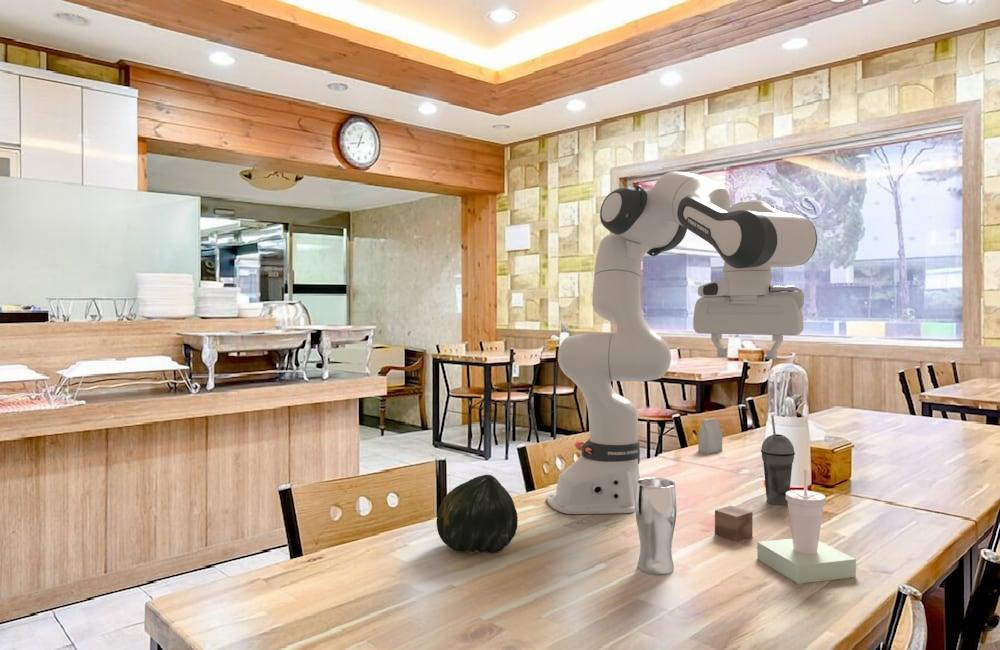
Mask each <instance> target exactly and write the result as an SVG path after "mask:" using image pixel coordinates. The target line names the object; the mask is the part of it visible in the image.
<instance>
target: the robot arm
mask: <svg viewBox="0 0 1000 650" xmlns="http://www.w3.org/2000/svg"><path fill="white" fill-rule="evenodd" d="M602 201H603V202H602V205H601V207H600V213H599V218H600V222H601V225H602V227H604V228H605V229H606V230H607V231H609V232H610V233H609V234H607V235H606V236H604V237H603V238H602V240H601V241H600V243H599V245H598V246H599V247H598V250H597V253H596V259H595V265H594V273H593V288H592V301H591V302H592V307H593V311H594V312H595V313H596V315H598V316H599V317H600V318H603V320H606V321H608V322H610V323H613V324H614V325H615V326H616V332H613V333H609V332H608V333H600V332H599V333H598V332H597V333H594V332H591V333H587V332H586V333H579V334H574V335H571V336H567V337H565V339H563V341H562V342H561V343H560V345H559V348H558V351H557V361H558V366H559V369H560V370H561V371H562V372H563V374H564V375H565V376H566V377H568V378H569V379H570V380H571V381H572V382H573V383H574V384H575V385H576V387H577V388H578V389H579V390H580V392H581V394H582V396H583V398H584V400H585V403H586V408H587V415H588V428H589V431H588V433H589V437H588V440H586V441H585V442H583V441H582V440H576V441H575V443H574V447H575V449H577V450H579V451H581V455H580V457H579V458H578V459H577V460H575V461H574V462H573V463H572V464H570V465H569V466H568V467H566V468H564V469H563V470H562V471H561V472H560V474H559V475H558V479H557V483H556V484H557V485H556V488H555V489H556V490H555V492H550V493H548V494H547V496H546V502H547V504H548V505H549V506H550V507H551V508H552V509H554V510H555V511H557V512H560V513H563V514H567V515H586V514H587V515H590V514H600V515H601V514H633V513H634V512H635V496H636V484H637V483H636V482H637V480H639V479H641V478H640V468H639V467H640V466H639V464H640V462H641V458H640V457H641V449H640V448H641V447H640V446H641V445H640V441H639V439H638V438H639V437H638V435H639V434H638V433H639V431H638V430H639V429H638V428H639V427H638V424H639V423H638V422H639V421H638V409H637V407H636V405H635V404H634V403H633V402H632V401H631V400H630V399H628V398H626V397H625V396H623V395H621V394H619V393H617V392H616V391H615V390H614V388H613V386H612V382H614V381H615V382H634V383H635V382H640V383H641V382H647V381H655V380H658V379H662V378H663V377H664V376H665V375H666V374H667V372H668V371H669V369H670V366H671V361H672V354H671V350H670V347H669V345H668V342H666V340H664V338H663V337H661V336H660V335H659V334H657V333H656V332H655V331H654V330H653V329H652V328H651V327H650V325H649V324H648V322H647V320H646V319H645V317H644V314H643V310H642V301H641V281H642V269H641V268H642V261H643V258H644V256H645V255H646V254H647V255H649V256H651V257H655V256H656V257H657V256H658V255H660V254H661V253H663V252H668V251H671V250H672V249H674V248H676V247H677V246H679V244H681V243H682V241H683V240H684V238H685V236H686V234H687V230H688V231H690V232H691V233H693V234H694V235H696V236H697V237H699V238H701V239H703V241H706V242H707V243H708V244H710V245H711V246H712V247H713V248H714V249H715V250H716V252H717V253H718V255H719V257H720V258H721V259H722V260H723V261H724V263H723V266H722V275H721V276H722V277H721V278H718V279H716V280H713V281H710V282H707V283H705V284H702V285H699V286H698V288H697V295H698V296H699V298H698V299H697V300H696V302H695V303H694V304H695V305H694V309H693V321H692V326H693V327H692V328H693V330H694V331H695V332H696V334H701V335H703V334H705V335H706V334H711V336H710V337H711V338H710V339H711V341H712V343H713V345H714V346H715V348H716V356H717V357H718V358H727V357H728V347H724V346H723V344H722V342H721V341H720V340H722V339H723V335H754V336H755V335H759V336H760V335H761V336H763V335H764V336H766V335H767V336H772V338H771V339H772V342H774V343H773V345H772V346H771V348H770V349H766V351H765V354H766V355H765V357H766V358H765V359H766V360H777V357H778V352H777V350H778V349H779V348H780V346H781V345H782V343H783V341H784V336H800V334H801V333H802V332H803V331H804V317H803V311H802V308H803V306H804V304H805V302H804V301H805V298H804V297H805V296H804V293H803V291H802V290H801V289H800V288H798V287H796V286H795V285H786V286H782V285H781V286H780V285H771V284H772V269H771V268H792V267H793V268H794V267H797V266H798V267H799V266H802V265H804V264H806V263H807V262H808V261H809V260H810V259H811V258H812V256H813V255H814V253H815V251H816V249H817V245H818V234H817V229H816V227H815V225H814V224H813V222H812V221H811V220H810V219H809V218H807V217H805V216H803V215H802V216H801V215H799V214H793V213H790V212H785V211H781V210H778V209H775V208H774V207H771V205H770V204H768V202H766V201H765V200H758V199H753V200H747V201H742V202H741V201H740V202H737V203H735V204H733V205H731V199H730V194H729V191H728V190H727V189H726V187H724V186H722V185H721V184H720V183H718V182H717V181H715V180H713V179H710V178H708V177H705V176H702V175H699V174H696V173H690V172H686V171H676V170H675V171H669V172H667V173H665V174H662V175H661V176H660V177H659V178H658V179H657V181H656V182H655V184H654V186H653V187H652V188H650V189H645V188H644V187H643V186H642V185H639V184H638V185H634V186H632V187H620V188H617V189H615V190H613V191H612V192H610V193H608V195H606V196H605V198H604V199H603V200H602Z"/></svg>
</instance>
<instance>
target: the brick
mask: <svg viewBox="0 0 1000 650" xmlns="http://www.w3.org/2000/svg"><path fill="white" fill-rule="evenodd" d="M753 515H754V513H753V511H750V510H748V509H743V508H740V507H737V506H733V505H729V506H725V507H724V506H723V507H722V508H718V509H715V510H714V535H715V536H718V537H720V538H723V539H726V540H729V541H732V542H736V543H739V542H741V541H744V540H748V539H750V538H753V530H754V529H753V528H754V527H753V519H754V518H753Z"/></svg>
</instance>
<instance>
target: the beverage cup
mask: <svg viewBox="0 0 1000 650" xmlns="http://www.w3.org/2000/svg"><path fill="white" fill-rule="evenodd" d="M770 416H771V417H770V418H771V425H772V434H770V435H769V436H767V437H766V438H765V439H764V440H763V442H762V444H761V449H760V453H761V458H762V461H763V463H762V464H763V474H764V484H765V494H766V502H767V503H768V504H770V505H775V506H776V505H777V506H785V505H788V501H787V500H786V498H785V497H786V492H788V491H791V480H792V471H793V470H792V469H793V463H794V459H795V454H796V453H795V449H794V444H793V443H792V441H791V440H790V439H789V438H788V437H787V436H785V435H783V434H779V433H776V425H775V418H774V415H773V414H772V415H770Z"/></svg>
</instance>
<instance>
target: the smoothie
mask: <svg viewBox="0 0 1000 650" xmlns="http://www.w3.org/2000/svg"><path fill="white" fill-rule="evenodd" d="M785 498H786V500H787V501H788V504H787V507H788V508H787V509H788V515H789V522H790V531H791V537H792V538H791V539H792V540H793V548H794V550H795V551H796V552H799V553H802V554H816V553H817V549H818V542H819V541H820V540H819V539H820V534H821V533H820V532H821V527H822V521H823V520H822V519H823V513H824V506H825V505H826V504H827V497H826V495H825V494H823V493H820V492H817V491H812V490H808V468H803V489H790V491H788V492H786V497H785Z"/></svg>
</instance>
